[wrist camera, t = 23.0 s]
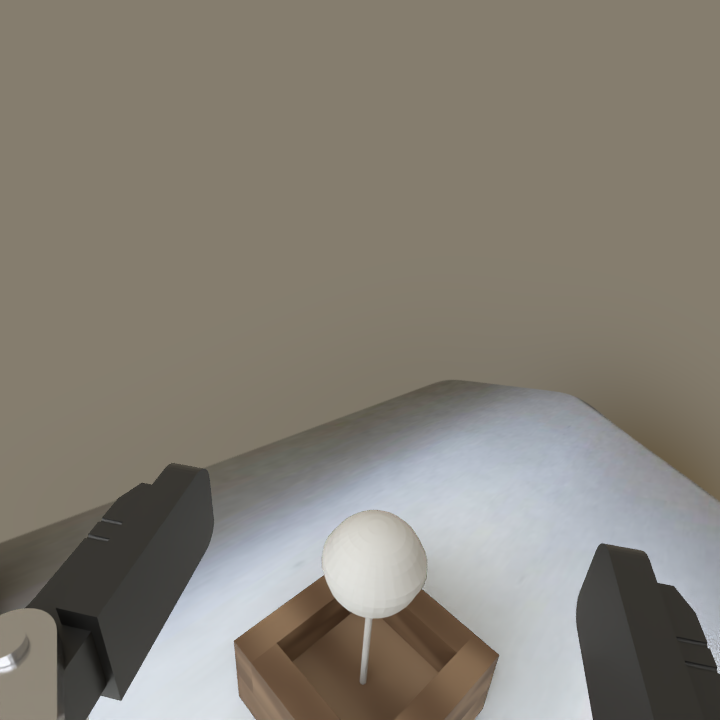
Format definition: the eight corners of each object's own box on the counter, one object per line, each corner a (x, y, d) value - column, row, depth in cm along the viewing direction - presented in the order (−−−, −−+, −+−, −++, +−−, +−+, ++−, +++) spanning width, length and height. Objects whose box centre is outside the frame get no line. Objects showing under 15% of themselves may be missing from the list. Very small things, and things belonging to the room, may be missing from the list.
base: (362, 595, 46) (367, 543, 43) (482, 708, 39) (499, 655, 36) (239, 696, 38) (234, 640, 35) (358, 862, 31) (365, 811, 28)
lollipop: (302, 700, 36) (302, 542, 28) (342, 627, 40) (350, 476, 33) (388, 746, 34) (411, 589, 26) (419, 663, 38) (446, 510, 31)
